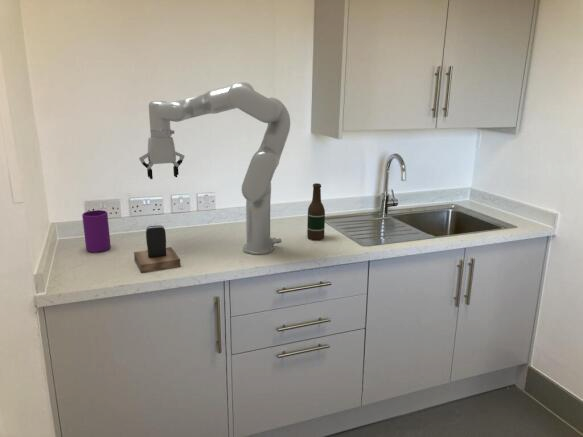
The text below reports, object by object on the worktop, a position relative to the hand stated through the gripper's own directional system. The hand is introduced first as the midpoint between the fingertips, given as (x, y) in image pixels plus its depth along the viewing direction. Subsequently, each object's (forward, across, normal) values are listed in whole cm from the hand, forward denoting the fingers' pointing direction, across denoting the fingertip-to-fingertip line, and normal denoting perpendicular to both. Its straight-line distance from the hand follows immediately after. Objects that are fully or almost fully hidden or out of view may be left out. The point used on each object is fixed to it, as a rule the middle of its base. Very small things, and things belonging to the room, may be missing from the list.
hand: (163, 177), depth 194 cm
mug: (+29, +26, -10) cm, 40 cm away
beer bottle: (+28, -60, +17) cm, 69 cm away
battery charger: (+26, +8, +18) cm, 32 cm away
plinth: (+28, +8, +18) cm, 34 cm away
